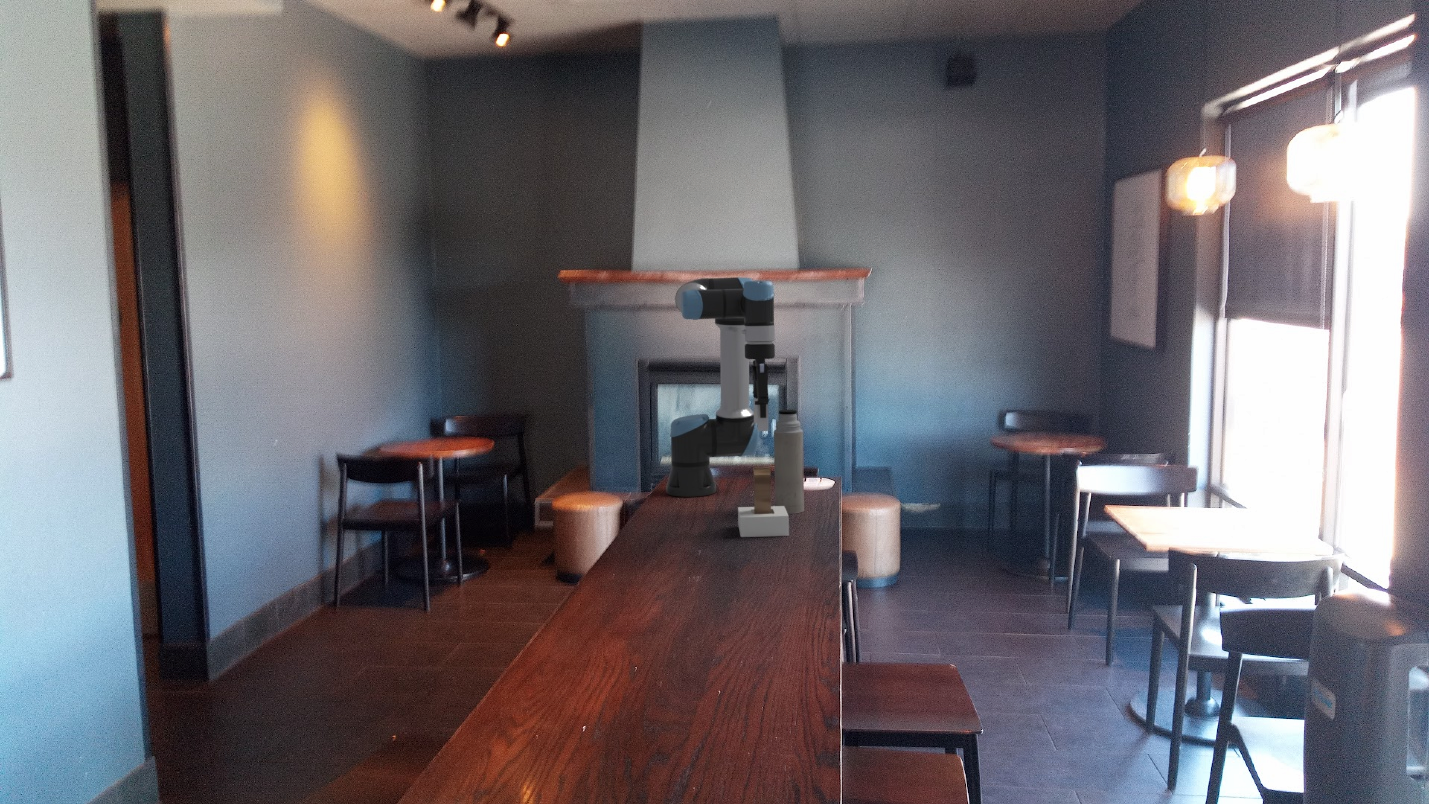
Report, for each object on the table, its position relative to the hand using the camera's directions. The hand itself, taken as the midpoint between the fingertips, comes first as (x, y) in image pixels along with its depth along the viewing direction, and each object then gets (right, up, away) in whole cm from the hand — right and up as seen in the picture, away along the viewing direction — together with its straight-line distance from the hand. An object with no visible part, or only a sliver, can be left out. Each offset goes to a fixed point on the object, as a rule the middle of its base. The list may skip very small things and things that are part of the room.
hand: (761, 427), depth 266 cm
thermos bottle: (+9, -24, +26) cm, 36 cm away
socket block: (+1, -26, +3) cm, 27 cm away
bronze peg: (+1, -26, +3) cm, 27 cm away
